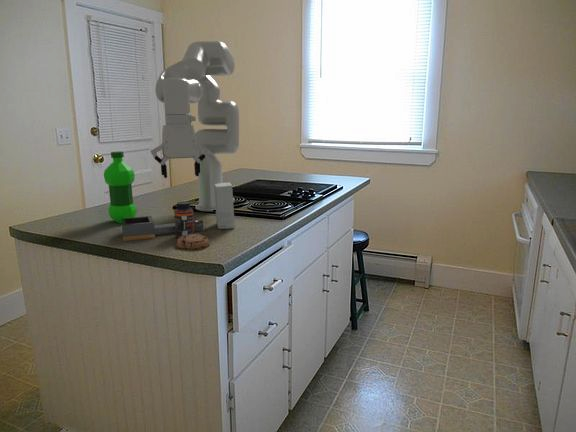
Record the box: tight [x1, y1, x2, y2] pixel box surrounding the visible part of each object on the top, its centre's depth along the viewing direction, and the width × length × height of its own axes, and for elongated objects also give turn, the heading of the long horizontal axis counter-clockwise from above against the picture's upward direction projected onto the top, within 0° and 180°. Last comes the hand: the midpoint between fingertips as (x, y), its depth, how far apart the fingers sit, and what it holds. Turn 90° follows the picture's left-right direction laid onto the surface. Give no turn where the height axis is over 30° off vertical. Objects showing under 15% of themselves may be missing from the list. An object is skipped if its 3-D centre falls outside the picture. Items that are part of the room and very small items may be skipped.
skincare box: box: [214, 182, 236, 230], centre depth 159 cm, size 8×6×15 cm
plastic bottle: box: [103, 151, 137, 224], centre depth 165 cm, size 10×10×25 cm
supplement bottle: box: [174, 201, 195, 239], centre depth 147 cm, size 6×6×11 cm
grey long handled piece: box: [121, 215, 204, 242], centre depth 152 cm, size 26×10×5 cm, turn 111°
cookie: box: [175, 233, 210, 251], centre depth 140 cm, size 10×11×3 cm
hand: (181, 176), depth 143 cm, fingers open, 9 cm apart
